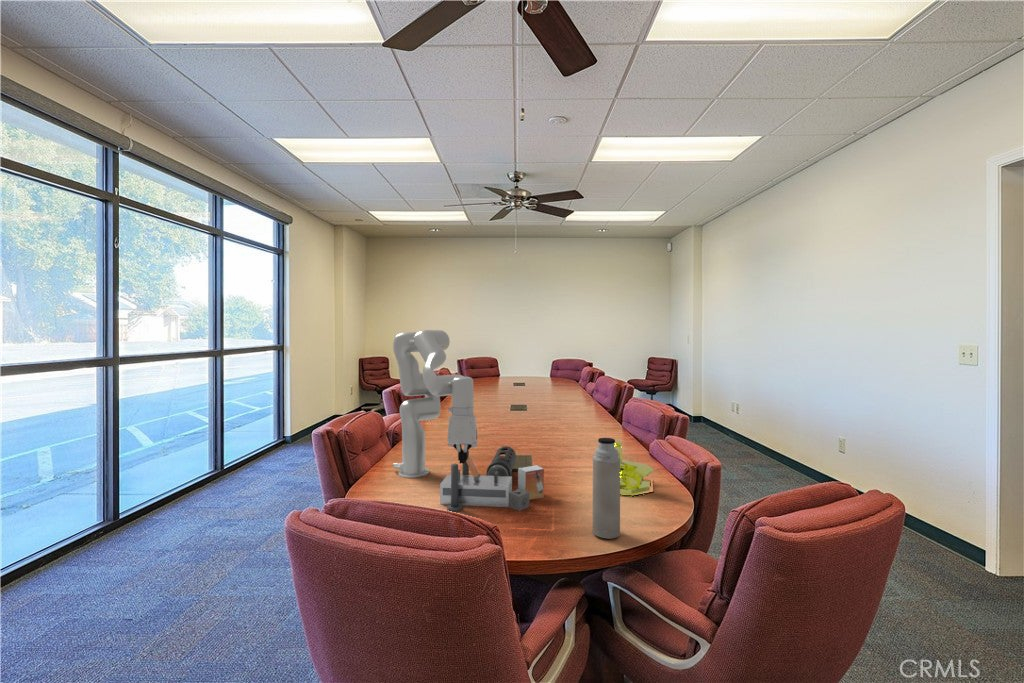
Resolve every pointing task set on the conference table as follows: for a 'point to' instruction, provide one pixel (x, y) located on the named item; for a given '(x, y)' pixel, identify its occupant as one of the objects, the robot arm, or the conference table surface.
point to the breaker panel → (478, 490)
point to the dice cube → (519, 499)
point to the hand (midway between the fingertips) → (462, 462)
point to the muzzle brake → (502, 462)
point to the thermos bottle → (606, 490)
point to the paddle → (473, 469)
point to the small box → (531, 481)
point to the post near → (454, 490)
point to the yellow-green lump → (632, 474)
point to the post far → (465, 466)
